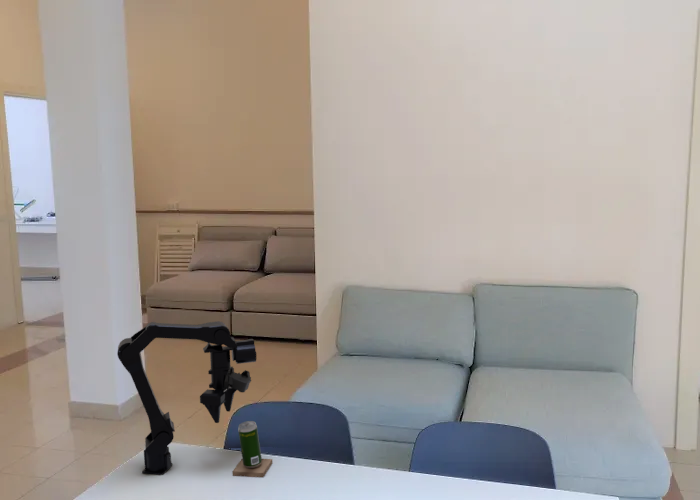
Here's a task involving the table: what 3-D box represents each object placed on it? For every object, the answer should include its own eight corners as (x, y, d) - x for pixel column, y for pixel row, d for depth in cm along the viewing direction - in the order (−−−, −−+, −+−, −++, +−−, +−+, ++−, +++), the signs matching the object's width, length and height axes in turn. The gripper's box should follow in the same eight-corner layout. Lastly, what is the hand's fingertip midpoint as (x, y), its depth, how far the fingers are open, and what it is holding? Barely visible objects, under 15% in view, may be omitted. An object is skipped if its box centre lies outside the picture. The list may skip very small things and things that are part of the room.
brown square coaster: (232, 478, 180) (232, 471, 180) (242, 464, 189) (242, 457, 189) (263, 479, 179) (263, 473, 179) (272, 465, 188) (272, 459, 187)
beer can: (265, 463, 183) (260, 423, 181) (249, 470, 180) (243, 430, 178) (255, 457, 187) (250, 419, 186) (239, 465, 184) (234, 425, 182)
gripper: (235, 375, 177) (238, 430, 179) (256, 357, 196) (258, 406, 197) (197, 374, 179) (200, 428, 181) (222, 356, 198) (224, 405, 199)
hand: (222, 416), depth 190 cm, fingers open, 9 cm apart
